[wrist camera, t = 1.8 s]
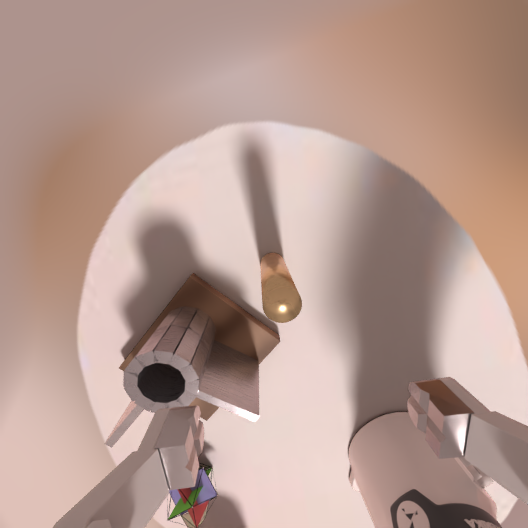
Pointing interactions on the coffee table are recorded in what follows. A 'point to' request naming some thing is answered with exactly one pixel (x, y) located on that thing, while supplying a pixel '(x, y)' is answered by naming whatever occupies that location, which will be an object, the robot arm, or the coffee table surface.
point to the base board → (217, 327)
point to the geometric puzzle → (193, 499)
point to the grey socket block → (188, 371)
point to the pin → (278, 290)
